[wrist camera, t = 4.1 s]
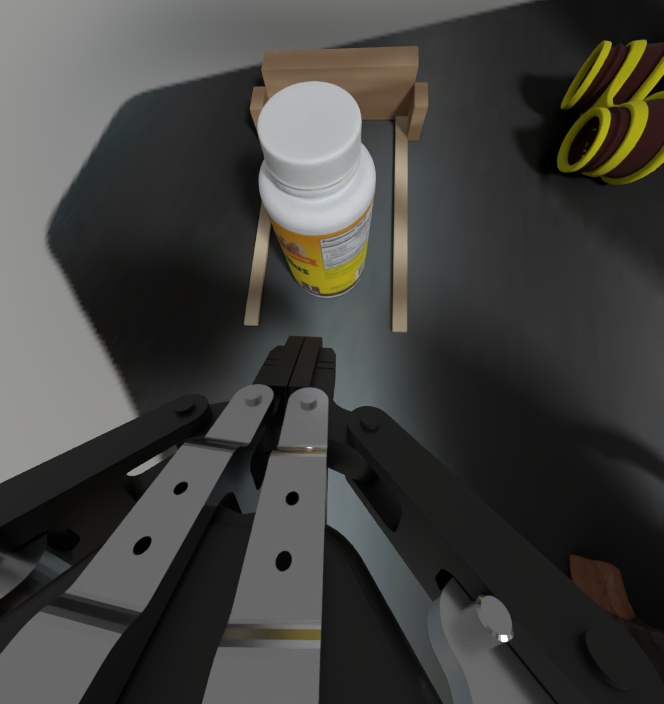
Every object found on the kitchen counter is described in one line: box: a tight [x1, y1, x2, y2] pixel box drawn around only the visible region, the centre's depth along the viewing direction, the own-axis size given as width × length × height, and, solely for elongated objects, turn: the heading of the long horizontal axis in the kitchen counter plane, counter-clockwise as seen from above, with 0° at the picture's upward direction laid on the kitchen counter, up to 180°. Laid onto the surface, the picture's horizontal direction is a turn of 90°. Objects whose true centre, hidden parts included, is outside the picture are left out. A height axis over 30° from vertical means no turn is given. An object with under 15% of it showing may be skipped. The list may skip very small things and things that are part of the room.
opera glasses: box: [557, 40, 664, 185], centre depth 18 cm, size 10×5×5 cm, turn 167°
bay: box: [244, 46, 428, 333], centre depth 18 cm, size 22×14×4 cm, turn 176°
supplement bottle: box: [257, 81, 376, 298], centre depth 14 cm, size 6×6×10 cm
